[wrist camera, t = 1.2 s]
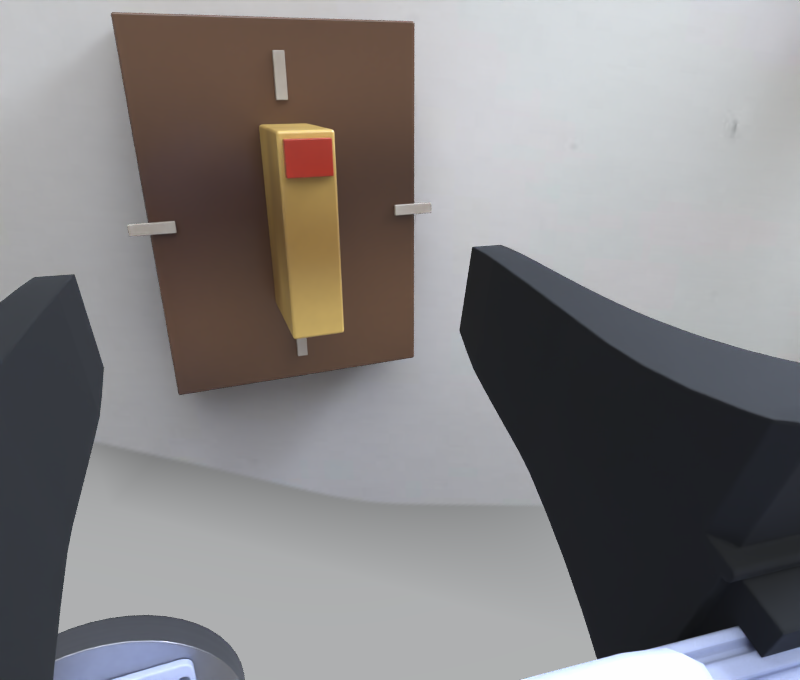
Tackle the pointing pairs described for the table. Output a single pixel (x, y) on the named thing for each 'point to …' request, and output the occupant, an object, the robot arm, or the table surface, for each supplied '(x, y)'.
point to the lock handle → (303, 226)
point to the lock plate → (245, 191)
